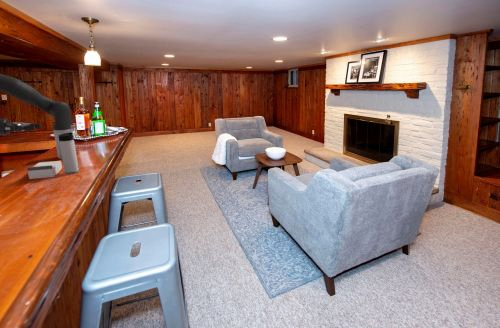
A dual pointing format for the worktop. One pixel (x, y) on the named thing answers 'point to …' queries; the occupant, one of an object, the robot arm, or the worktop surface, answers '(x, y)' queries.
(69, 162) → the travel mug
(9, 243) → the worktop surface
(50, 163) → the dock
